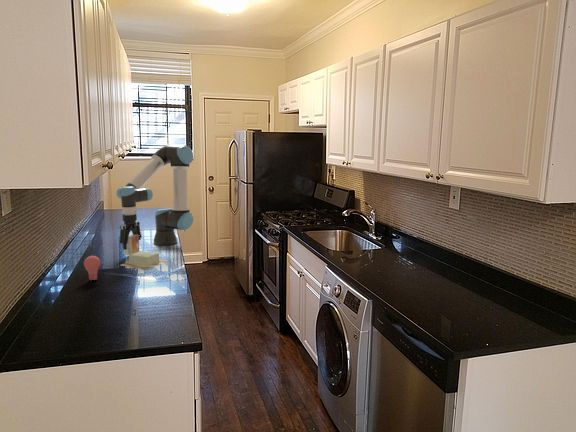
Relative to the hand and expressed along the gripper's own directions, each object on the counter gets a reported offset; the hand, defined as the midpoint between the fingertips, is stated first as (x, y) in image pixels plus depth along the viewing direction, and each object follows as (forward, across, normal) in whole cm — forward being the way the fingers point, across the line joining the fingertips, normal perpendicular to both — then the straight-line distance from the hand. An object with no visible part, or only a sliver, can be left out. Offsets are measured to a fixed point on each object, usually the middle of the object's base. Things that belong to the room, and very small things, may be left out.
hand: (131, 252), depth 250 cm
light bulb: (+2, +42, +11) cm, 43 cm away
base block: (+2, +10, +16) cm, 19 cm away
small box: (+1, 0, 0) cm, 1 cm away
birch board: (+3, +10, +16) cm, 19 cm away
